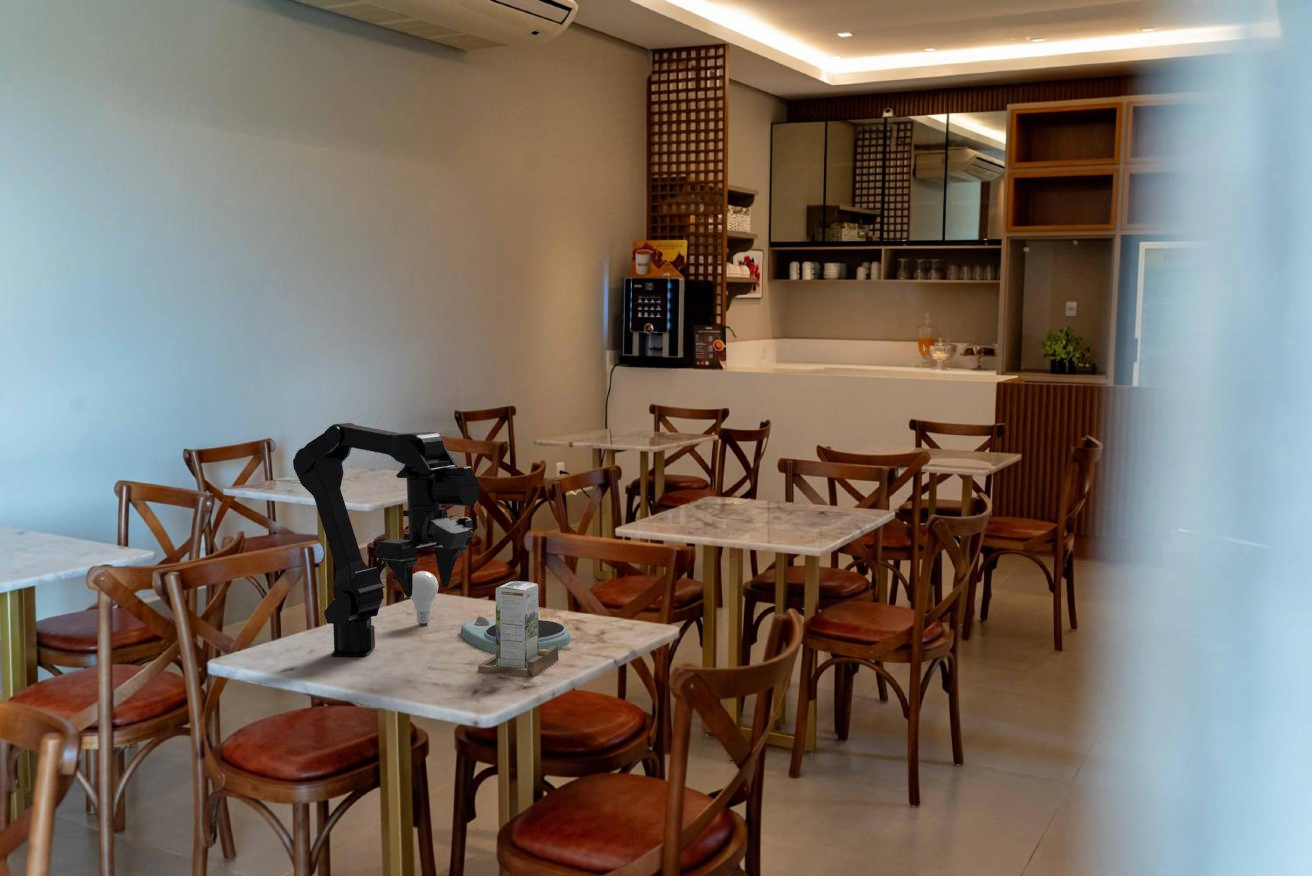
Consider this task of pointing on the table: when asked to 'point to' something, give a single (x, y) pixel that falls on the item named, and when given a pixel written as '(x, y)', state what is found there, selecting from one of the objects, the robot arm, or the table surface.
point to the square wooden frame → (533, 666)
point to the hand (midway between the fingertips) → (427, 591)
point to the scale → (485, 634)
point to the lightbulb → (423, 595)
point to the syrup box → (516, 624)
